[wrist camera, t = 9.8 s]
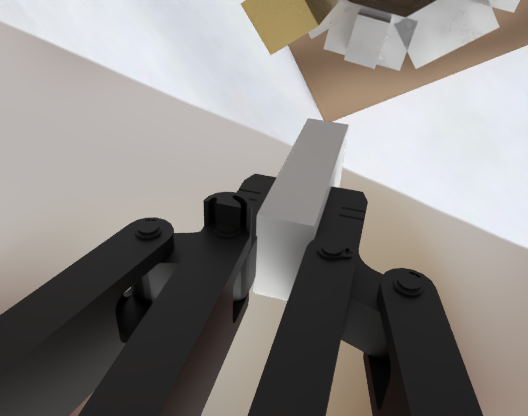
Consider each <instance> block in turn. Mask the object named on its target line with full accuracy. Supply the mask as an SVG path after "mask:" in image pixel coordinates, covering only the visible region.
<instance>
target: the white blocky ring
mask: <svg viewBox="0 0 528 416" xmlns="http://www.w3.org/2000/svg"><path fill="white" fill-rule="evenodd" d="M519 1H520V0H422V1H420V2H418V3H416V4H415V5H413V6H411V7H409V8H408V9H406V8H403V7H399V6H395V5H392V4H388V3H384V2H381V1H377V0H246V1H244V2H243V3H241V5H242V7H243V9H244V10H245V12H246V14H247V15H248V17H249V19H250V21H251V22H252V24H253V26H254V27H255V29H256V31H257V32H258V34H259V36H260V37H261V39H262V41H263V43H264V44H265V46H266V48H267V49H268V51H269V53H270V54H271V55H272V54H273V53H275V52H277V51H278V50H280V49H282V48H283V47H285V46H287V45H288V44H290V43H292V42H293V41H295V40H296V39H298V38H300V37H301V36H303V35H305V34H306V33H308V34H309V36H310V38H311V39H313V38H314V37H316V36H318V35H319V34H321V33H323V32H324V31H326V30H328V29H329V30H328V34H327V37H326V41H325V45H324V48H323V49H325V50H329V51H332V52H336V53H339V54H343V55H345V58H344V60H346V61H349V62H352V63H356V64H359V65H363V66H366V67H370V68H373V69H375V66H376V64H377V65H381V66H384V67H388V68H391V69H395V70H398V71H400V69H401V66H402V63H403V61H404V58H405V55H406V52H408V54H409V56H410V58H411V60H412V62H413V64H414V66H415V68H416V69H417V68H419V67H421V66H423V65H425V64H427V63H429V62H431V61H433V60H435V59H437V58H439V57H441V56H443V55H445V54H447V53H449V52H451V51H453V50H455V49H457V48H459V47H461V46H463V45H465V44H467V43H469V42H471V41H473V40H475V39H477V38H479V37H481V36H483V35H485V34H487V33H489V32H491V31H493V30H495V29H497V28H499V24H498V22H497V19H496V17H495V14H494V12H493V10H492V7H494V8H498V9H502V10H505V11H509V12H513V13H514V12H515V10H516V7H517V5H518V3H519Z"/></svg>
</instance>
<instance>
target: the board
mask: <svg viewBox="0 0 528 416" xmlns="http://www.w3.org/2000/svg"><path fill="white" fill-rule="evenodd" d="M377 1H381V2H384V3H388V4H392V5H395V6H399V7H403V8H406V9H408V8H409V7H411V6H413V5H415V4H416V3H418V2H420V1H422V0H377ZM492 10H493V12H494V14H495V17H496V19H497V22H498V24H499V28H497V29H495V30H493V31H491V32H489V33H487V34H485V35H483V36H481V37H479V38H477V39H475V40H473V41H471V42H469V43H467V44H465V45H463V46H461V47H459V48H457V49H455V50H453V51H451V52H449V53H447V54H445V55H443V56H441V57H439V58H437V59H435V60H433V61H431V62H429V63H427V64H425V65H423V66H421V67H419V68H417V69H416V68H415V66H414V64H413V62H412V60H411V58H410V56H409V54H408V52H406V55H405V58H404V61H403V63H402V66H401V69H400V71H398V70H395V69H391V68H388V67H384V66H381V65H377V64H376V66H375V69H373V68H370V67H366V66H363V65H359V64H356V63H352V62H349V61H346V60H344V58H345V55H343V54H339V53H336V52H332V51H329V50H325V49H323V48H324V45H325V41H326V37H327V34H328V30H329V29H328V30H326V31H324V32H323V33H321V34H319V35H318V36H316V37H314V38H313V39H311V38H310V36H309V34H308V33H306V34H305V35H303V36H301V37H300V38H298V39H296V40H295V41H293V42H292V43H290V44H288V46H289V48H290V50H291V52H292V54H293V56H294V58H295V61H296V63H297V65H298V67H299V69H300V71H301V73H302V75H303V77H304V80H305V82H306V84H307V86H308V88H309V90H310V92H311V94H312V97H313V99H314V101H315V103H316V105H317V107H318V109H319V111H320V113H321V116H322V118H323V120H324V121H328V122H332V121H335V120H337V119H340V118H342V117H345V116H347V115H350V114H352V113H355V112H358V111H360V110H363V109H365V108H368V107H370V106H373V105H375V104H378V103H381V102H383V101H386V100H388V99H391V98H393V97H396V96H398V95H401V94H404V93H406V92H409V91H411V90H414V89H416V88H419V87H421V86H424V85H427V84H429V83H432V82H434V81H437V80H439V79H442V78H444V77H447V76H450V75H452V74H455V73H457V72H460V71H462V70H465V69H467V68H470V67H473V66H475V65H478V64H480V63H483V62H485V61H488V60H490V59H493V58H496V57H498V56H501V55H503V54H506V53H508V52H511V51H513V50H516V49H519V48H521V47H524V46H526V45H528V0H520V1H519V3H518V5H517V7H516V10H515V12H514V13H513V12H509V11H505V10H502V9H498V8H494V7H492Z"/></svg>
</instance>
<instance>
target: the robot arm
mask: <svg viewBox="0 0 528 416" xmlns="http://www.w3.org/2000/svg"><path fill="white" fill-rule="evenodd" d="M348 127H349V125H347V124H341V123H334V122H328V121H321V120H315V119H307V121H306V123H305V125H304V127H303V129H302V131H301V133H300V135H299V136H298V138H297V140H296V142H295V144H294V146H293V148H292V150H291V152H290V153H289V156H288V157H287V159H286V161H285V163H284V165H283V167H282V169H281V170H280V172H279V174H278V176H277V178H276V177H271V176H265V175H260V174H254V175H252V176H251V177H249V178H247V179H246V180H244V182H243V183H242V185H241V187H240V188H239V190H238V191H237V193H235V192H221V193H215V194H213V195H210V196H208V197H207V198H206V199H205V200H204V227H203V229H202V230H201V231H200V232H195V233H174V229H173V227H172V225H171V224H170V223H169V222H167V221H166V220H164V219H159V218H143V219H139V220H136V221H135V222H132V223H130V224H129V225H127V226H126V227H124V228H123V229H122V230H120V231H119V232H117V233H116V234H115V235H113V236H112V237H110V238H109V239H108V240H106V241H105V242H103V243H102V244H100V245H99V246H98V247H96V248H95V249H93V250H92V251H91V252H89V253H88V254H86V255H85V256H83V257H82V258H81V259H79V260H78V261H76V262H75V263H74V264H72V265H71V266H69V267H68V268H67V269H65V270H64V271H62V272H61V273H59V274H58V275H57V276H55V277H54V278H52V279H51V280H49V281H48V282H47V283H45V284H44V285H42V286H41V287H39V288H38V289H37V290H35V291H34V292H33V293H31V294H30V295H28V296H27V297H25V298H24V299H23V300H21V301H20V302H18V303H17V304H15V305H14V306H13V307H11V308H10V309H8V310H7V311H5V312H4V313H3V314H1V315H0V416H69V415H70V414H71V413H72V412H73V411H74V410H75V409H76V408H77V407H78V406H79V405H80V404H81V403H82V402H83V401H84V400H85V399H86V398H87V397H88V396H89V395H90V394H91V393H92V392H93V391H94V390H95V391H94V392H93V394H92V395H91V397H90V398H89V400H88V401H87V403H86V404H85V406H84V407H83V409H82V410H81V412H80V413H79V415H78V416H201V414H202V411H203V409H204V407H205V404H206V402H207V400H208V397H209V395H210V393H211V390H212V388H213V386H214V383H215V381H216V379H217V376H218V374H219V371H220V369H221V367H222V365H223V362H224V360H225V358H226V356H227V353H228V351H229V349H230V346H231V344H232V341H233V339H234V337H235V334H236V332H237V330H238V327H239V325H240V323H241V321H242V318H243V316H244V314H245V311H246V309H247V307H248V301H249V290H250V288H251V286H252V283H253V281H254V292H253V293H256V294H260V295H264V296H268V297H273V298H277V299H281V300H286V301H287V304H286V307H285V310H284V313H283V316H282V319H281V322H280V324H279V327H278V330H277V333H276V336H275V339H274V342H273V344H272V347H271V350H270V353H269V356H268V359H267V362H266V365H265V367H264V370H263V373H262V376H261V379H260V382H259V385H258V387H257V390H256V393H255V397H254V399H253V402H252V405H251V408H250V410H249V413H248V416H326V412H327V406H328V401H329V396H330V391H331V386H332V381H333V376H334V371H335V366H336V361H337V356H338V351H339V346H340V342H341V340H343V341H345V342H346V343H348V344H350V345H352V346H354V347H356V348H358V349H359V350H361V351H363V352H364V354H363V359H364V365H365V371H366V378H367V384H368V390H369V396H370V403H371V409H372V414H373V416H483V414H482V411H481V409H480V406H479V403H478V400H477V398H476V395H475V392H474V389H473V387H472V384H471V381H470V379H469V376H468V373H467V370H466V368H465V365H464V362H463V360H462V357H461V354H460V352H459V349H458V346H457V343H456V341H455V338H454V335H453V332H452V330H451V327H450V324H449V322H448V319H447V317H446V314H445V311H444V308H443V305H442V303H441V300H440V297H439V295H438V292H437V289H436V287H435V286H434V284H433V283H432V281H431V280H430V279H429V278H427V277H426V276H425V275H424V274H421V273H419V272H417V271H414V270H411V269H405V268H399V269H391V270H389V271H387V272H385V273H384V275H383V274H381V273H379V272H377V271H375V270H373V269H371V268H370V267H369V266H367V265H366V264H365V263H364V262H363V261H362V260H361V258H360V255H359V244H360V239H361V234H362V229H363V224H364V218H365V213H366V208H367V203H368V202H367V199H366V197H365V195H364V193H363V192H360V191H354V190H349V189H343V188H339V186H340V180H341V173H342V167H343V160H344V154H345V147H346V140H347V134H348ZM130 287H131V288H130ZM129 288H130V289H129ZM128 289H129V290H128ZM127 290H128V291H127ZM126 291H127V292H126ZM124 292H125V293H124Z"/></svg>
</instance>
